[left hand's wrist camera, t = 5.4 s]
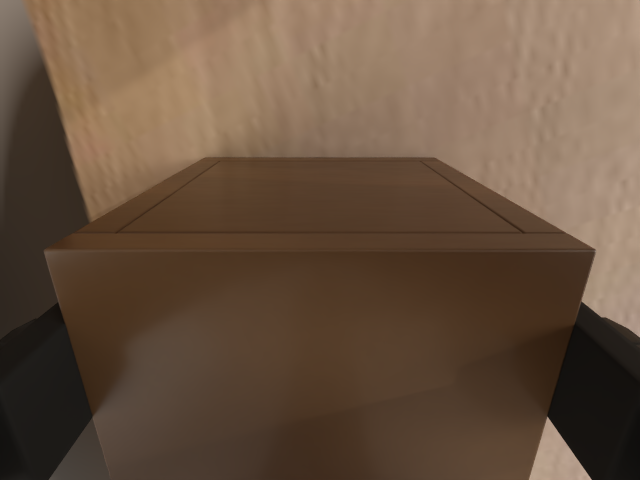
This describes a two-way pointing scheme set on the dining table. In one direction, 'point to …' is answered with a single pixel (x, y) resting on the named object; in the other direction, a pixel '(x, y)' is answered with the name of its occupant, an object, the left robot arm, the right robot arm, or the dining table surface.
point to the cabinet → (319, 323)
